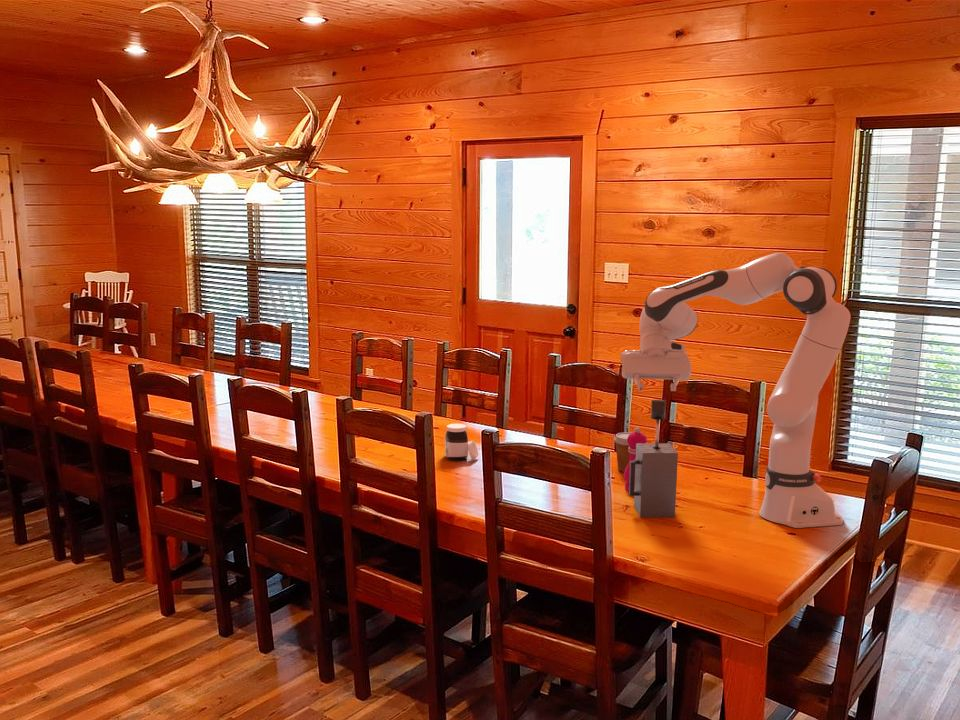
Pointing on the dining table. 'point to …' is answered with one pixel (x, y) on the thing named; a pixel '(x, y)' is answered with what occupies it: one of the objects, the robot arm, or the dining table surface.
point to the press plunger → (658, 416)
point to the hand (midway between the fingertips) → (657, 389)
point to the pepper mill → (633, 452)
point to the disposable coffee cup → (622, 450)
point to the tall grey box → (654, 480)
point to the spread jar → (459, 443)
